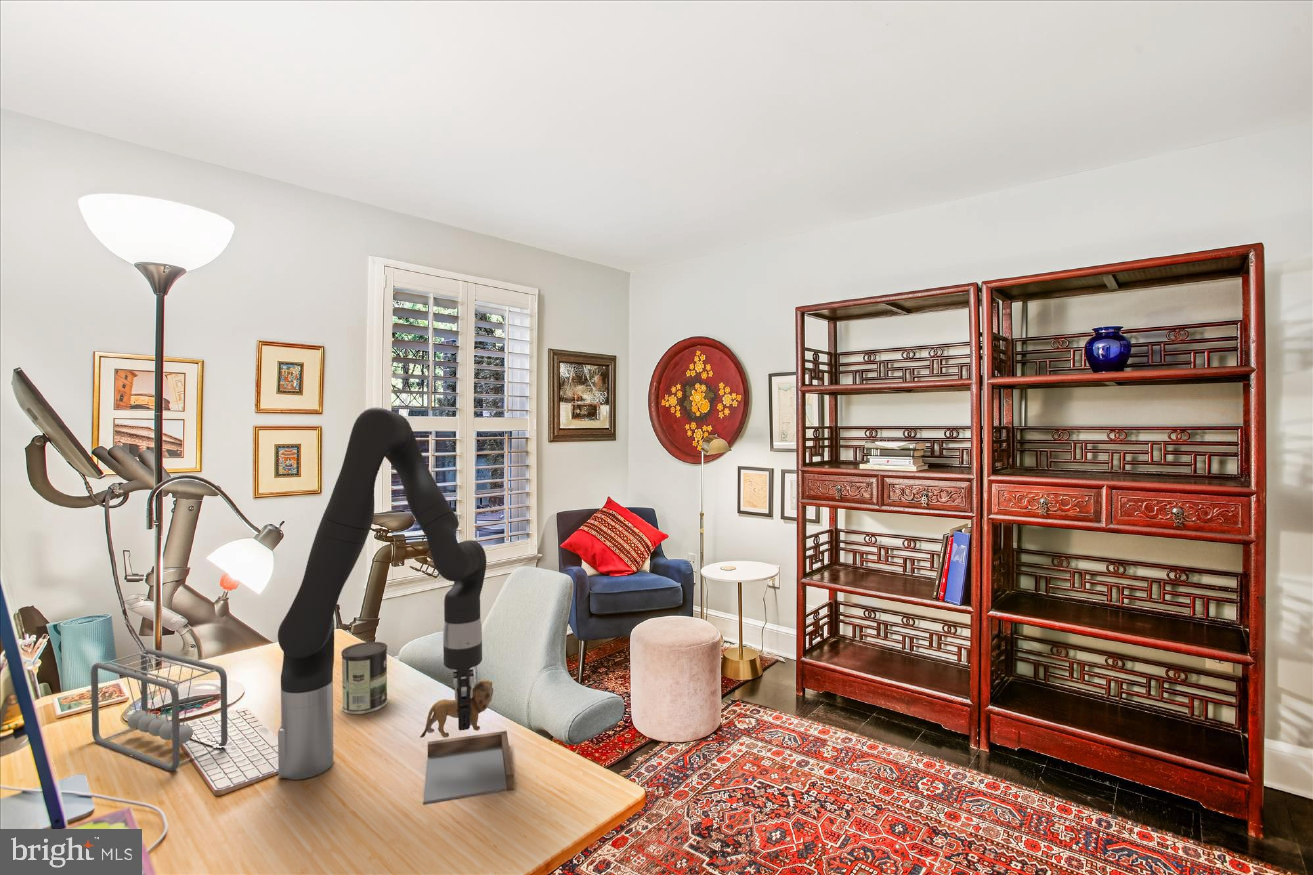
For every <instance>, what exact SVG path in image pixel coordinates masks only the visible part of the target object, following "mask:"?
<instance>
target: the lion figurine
mask: <svg viewBox="0 0 1313 875" xmlns="http://www.w3.org/2000/svg"><path fill="white" fill-rule="evenodd" d="M493 694H494V688H493V682H492V681H490V680H489V679H480V680H479V681H477V682H475V684H474V687H473V697H472V698H471V699H470V701H471V712H470V726H471V727H472V729H473V730H474V731H477V732H478V731H480V730H481V727H480V725H478V722H479V721H478V720H479V714H481V713H483V712H485V711H486V709H488V707H489V704H490V702H491V701H492V699H493ZM462 705H468V703H464V704H460V706H462ZM457 708H458V701H457V700H455V699H441V700H438V701H437V702H435V703H434V704H433V705H432V706H431V708H430V709H429V711H428V714H427V715H428V716H427V718H426V722H425V728H424V729H423V732H422V733H421V735H420V736H419V738H420V739H421V738H424V737H425V736H426V734H427V733H428V734H432V733H434V732H435V729H434V728H432V725H433V724H435V723H436V722H438V728H437V731H438V732H439V733H440V735H441V737H442V738H443V739H444V738H446V739H447V738H449V737H450V734H449V732H445V728H444V727H445V724H446V722H447V720H448V719H447V717H450V718H454V719H458V712H457Z"/></svg>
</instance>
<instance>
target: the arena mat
mask: <svg viewBox="0 0 1313 875" xmlns="http://www.w3.org/2000/svg"><path fill="white" fill-rule="evenodd" d="M425 771H426V772H425V779H424V781H425V782H424V790H423V791H424V792H423V802H422V803H423V804H431V803H436V802H442V801H448V800H455V799H461V798H466V797H473V796H478V795H483V794H484V795H485V794H490V793H491V794H492V793H495V792H503V791H508V790H507V786H506V778H505V770H504V762H503V754H502V747H501V746H498V747H492V748H485V749H478V750H471V751H464V752H457V753H450V754H444V755H437V756H430V757H428V756H427V760H426V770H425Z"/></svg>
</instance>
